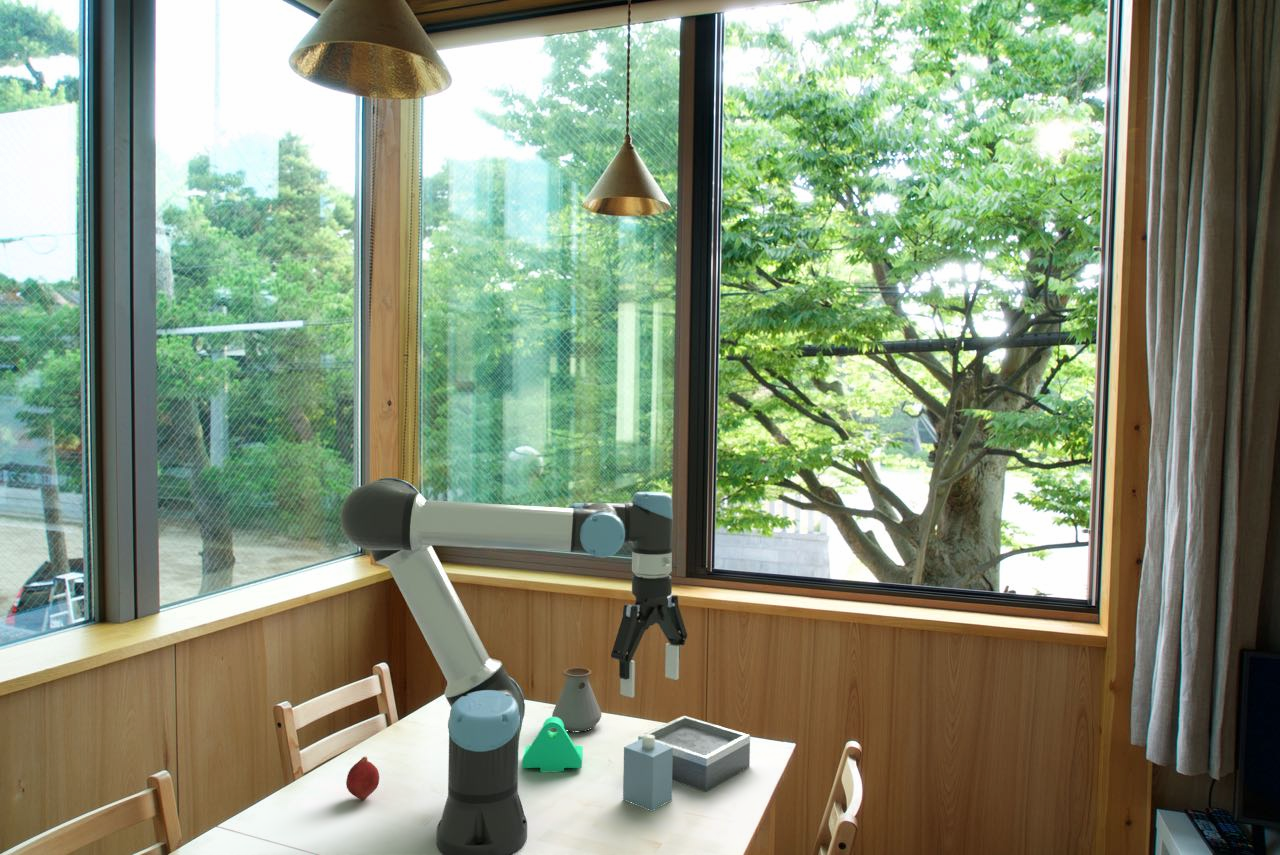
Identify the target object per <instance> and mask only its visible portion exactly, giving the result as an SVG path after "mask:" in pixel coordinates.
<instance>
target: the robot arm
mask: <svg viewBox="0 0 1280 855" xmlns="http://www.w3.org/2000/svg"><path fill="white" fill-rule="evenodd" d="M673 515H674V514H673V497H672V496H671V494H669V493H667V492H663V491H662V492H661V491H637V492H635V493H634V494H633V496H632V500H631V502H630V501H629V502H624V503H623V502H622V503H621V502H590V501H586V502H574V503H572V504H571V505H570V507H554V506H553V507H552V506H535V505H534V506H533V505H521V504H519V505H518V504H515V505H514V504H503V503H501V504H500V503H499V504H498V503H483V502H468V501H467V502H465V501H449V500H447V501H445V500H432V499H426V498H425V497H424V496H423V495H422V494H421V492H419V490H418V489H417V488H416V486H415V485H413V484H411V483H410V482H408V481H406V480H403V479H400V478H395V477H383V478H380V479H377V480H374V481H372V482H369V483H366V484H363V485H361V486H359V487H356V488H354V490H352V491H351V492H350V493H349V494H348V496H347V497H346V498H345V499H344V502H343V503H342V506H341V509H340V515H339V517H340V519H339V520H340V526H341V529H342V531H343V533H344V535H345V536H346V538H347V539H348V540H349V541H350V542H351V543H352V544H353V545H356V546H357V547H358V548H361V549H364V550H369V552H370V554H371V556H372V558H373V560H374V562H375V563H376V564H378V565H381V566H383V567H386V568H388V569H389V571H390V574H391V575H392V578H393V580H394V581H395V583H396V586H397V587H398V589H399V591H400V592H401V594H402V597H403V598H404V600H405V602H406V605H407V606H408V608H409V610H410V612H411V614H412V617H413V618H414V620H415V622H416V624H417V626H418V628H419V629H420V631H421V633H422V635H423V637H424V639H425V641H426V643H427V646H429V649H430V650H431V653H432V654H433V656H434V659H435V660H436V662H437V664H438V666H439V668H440V670H441V672H442V674H443V676H444V678H445V680H446V682H447V684H446V687H445V690H444V692H443V693H444V697H445V699H446V701H447V703H448V705H449V706H450V710H449V711H450V712H449V717H448V722H447V729H448V771H447V772H448V773H447V778H448V779H447V781H448V782H447V784H448V785H447V796H446V801H445V805H444V809H443V812H442V815H441V818H440V820H439V822H438V824H437V827H436V847H437V849H438V851H439V852H440V853H442V854H443V855H512V854H514V853H515V852H517V851H518V850H520V848H523V846H524V845H525V843H526V842H527V839H528V821H527V818H526V816H525V811H524V808H523V805H522V802H521V799H520V795H519V792H518V790H519V789H518V788H519V787H518V783H519V778H518V777H519V747H520V746H519V744H520V736H521V730H522V726H523V722H524V717H525V709H526V705H525V698H524V694H523V691H522V689H521V687H520V686H519V685H518V683H517V682H516V681H515V679H514V678H512V677H511V676H509V675H508V672H507V671H506V668H505V666H504V665H503V663H502V661H501V660H498V659H495V658H491V657H490V656H489V654H488V652H487V650H486V648H485V645H484V644H483V642H482V641H481V638H480V636H479V635H478V633H477V631H476V629H475V627H474V625H473V623H472V621H471V619H470V617H469V615H468V614H467V611H466V609H465V608H464V605H463V604H462V601H461V599H460V598H459V596H458V594H457V592H456V590H455V588H454V586H453V584H452V583H451V581H450V578H449V577H448V574H447V572H446V571H445V569H444V567H443V565H442V562H441V561H440V559H439V557H438V555H437V553H436V551H435V549H434V547H433V546H440V547H443V546H444V547H459V548H460V547H461V548H483V549H484V548H485V549H500V550H501V549H504V550H523V551H525V550H526V551H545V552H567V553H568V552H569V553H577V554H578V553H579V554H589V555H591V556H594V557H597V558H610V557H611V556H614V555H615V554H617V552H619V551H620V549H622V546H623V545H624V544H628V543H632V552H631V557H632V558H631V571H632V573H634V574H633V576H631V593H632V595H633V596H634V597H635V602H634V604H628V603H625V604H624V605H623V610H622V618H621V621H620V625H619V627H618V631H617V634H616V637H615V641H614V644H613V647H612V650H611V653H610V657H611V659H615V660H618V662H619V666H618V669H619V670H618V671H619V672H618V674H619V680H620V681H619V682H620V686H619V687H620V694H619V695H621V696H624V697H628V698H635V680H636V679H635V677H636V676H635V674H636V670H635V669H636V664H635V662H636V661H635V660H633V658H634V655H635V653H636V651H637V649H638V647H639V645H640V643H641V641H642V638H643V636H644V634H645V632H646V630H648V629H649V628H650V627H651V626H653V625H656V624H658V627H659V628H660V629H661V631H662V632H663V635H664V636H665V638H666V639H667V641H668V642H669V643H665V662H664V663H665V664H664V665H665V666H664V667H665V671H664V672H665V673H664V678H668V679H671V680H673V681H674V680H675V681H677V680H679V678H680V676H679V674H680V671H679V670H680V657H681V653H680V652H681V646H684V645H685V644H686V640H687V639H688V632H687V629H686V626H685V624H684V623H685V622H684V620H683V616H682V613H681V611H680V607H679V596H678V595H676V594H672V589H673V588H672V587H673V585H672V584H673V579H672V576H671V575H670V573H672V571H673V569H672V568H673V567H672V562H673V559H672V558H673V557H672V556H673V553H672V552H673V530H674V529H673V523H674V522H673V521H674V516H673Z"/></svg>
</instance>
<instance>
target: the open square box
mask: <svg viewBox="0 0 1280 855" xmlns="http://www.w3.org/2000/svg"><path fill="white" fill-rule="evenodd" d="M646 734H651V735H654V736H655V742H658V743H661V744H664V745H667V746H670V747H673V763H672V781H674V780H675V781H674V782H676V781H677V783H679V784H682V785H686V786H689V787H690V788H693V789H696V790H699V791H701V792H702V791H703V792H705V793H707V792H708V791H711V790H712V789H713V788H715V787H717V786H719V785H721V784H722V783H724V782H725V781H727V780H729V779H730V778H732V777H734V776H735V775H737V774H739V773H740V771H741V772H742V771H744V770H746V769H747V768H749V767H750V759H751V757H750V754H751V753H750V752H751V750H750V749H751V735H750V734H747V733H744V732H741V731H737V730H735V729H730V728H729V727H728V728H726V727H723V726H721V725H717V724H714V723H711V722H707V721H703V720H701V719H697V718H693V717H690V716H687V715H683V716H680V717H678V718H675V719H673V720H671V721H669V722H665V724H662V725H660V726H658V727H655V728H653V729H651V730H649V731H647V732H646V731H645V733H643V734H639V735H638V737H637V741H638V740H641V739H642V736H643V735H646ZM745 768H746V769H745ZM743 769H744V770H743ZM738 772H739V773H738Z"/></svg>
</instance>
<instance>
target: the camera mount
mask: <svg viewBox="0 0 1280 855" xmlns="http://www.w3.org/2000/svg"><path fill="white" fill-rule="evenodd" d="M550 729H555V730H556V731H551V730H550ZM583 748H584V747H583V746H582V745H576V744H574V741H573V740H572V738H571V737H570V735H569V734H568V731H566V730H565V729H564V723H563V721H562V720H561V719H560V718H558V717H552V716H550V717H548V718H546V719H545V721H544V722H543V725H542V727H541V729H540V731H538V733H537V735H536V736H535V738H534V739H533V741H532V742H531V744H530V745H527V746H525V748H524V752H523V754H522V755H523V756H522V759H521V760H522V762H521V765H522V766H521V768H526V769H527V768H528V769H529V768H531V769H533V768H535V769H536V768H540V769H539V771H565V768H567V769H570V768H572V769H576V768H577V769H578V768H579V769H581V768H582V767H583V766H582V765H583V754H584V753H583V751H584V749H583Z"/></svg>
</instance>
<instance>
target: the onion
mask: <svg viewBox="0 0 1280 855" xmlns="http://www.w3.org/2000/svg"><path fill="white" fill-rule="evenodd" d="M379 782H380V773H379V770H378V768H377V767H376V766H375V765H374V764H373V763H372V762H370V761H368V757H367V756H362V757H361V759H360V760H359V761H357V762H356V763H355V764H354V765H353V766H352V767H351V768H350V769H349V771H348V774H347V776H346V780H345V785H346V789H347V791H348V792H349V793H350V794H351V795H352V796H354V797H356V798H357V799H359V800H362V801H364V800H366V799H367V798H369V796H370V795H372V793H374V791H376V790H377V788H378V786H379Z"/></svg>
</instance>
